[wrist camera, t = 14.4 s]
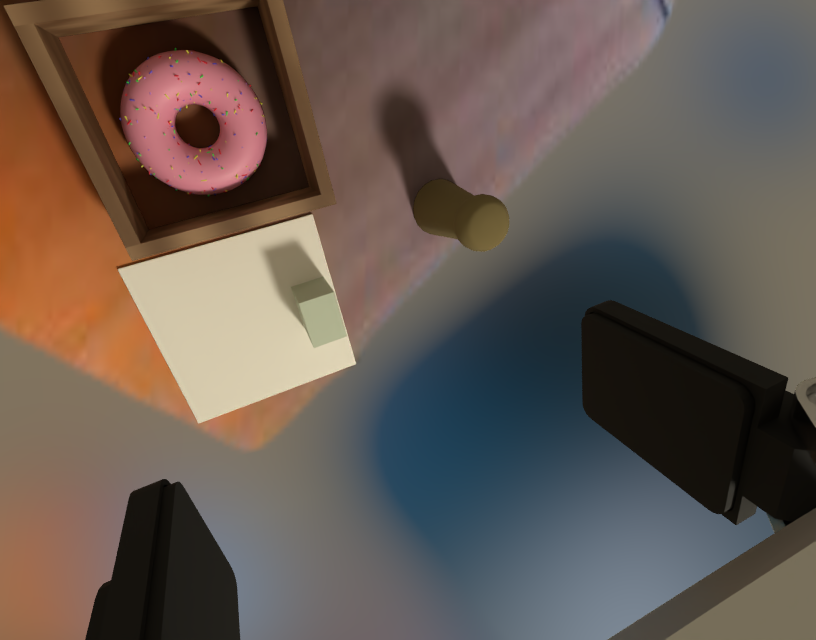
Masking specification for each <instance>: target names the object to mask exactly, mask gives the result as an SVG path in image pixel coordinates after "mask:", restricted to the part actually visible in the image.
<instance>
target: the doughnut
mask: <svg viewBox="0 0 816 640" xmlns="http://www.w3.org/2000/svg"><path fill="white" fill-rule="evenodd" d="M129 75H130V76H129V78H128V80H127V81H126V84H125V87H124V90H123V93H122V97H121V103H120V118H119V119H120V120H121V125H122V129H123V132H124V135H125V138H126V140H127V143H128V145H129V147H130V149H131V150H132V152H133V153H134V155H135V156H136V160H138V161H139V162H140V163H141V164H142V166H141V167H143V166H144V168H145V169H146V170H147V171H149V175H153V176H154V177H155V178H157V179H159V180H160V181H162V182H164V183H166V184H167V185H169V186H171V187H173V188H175V189H176V190H175V191H177V190H181V191H184V192H187V194H191V193H192V194H197V195H208V197H209V195H213V194H215V195H216V194H219V193H223V192H226V193H227V191H230V190H233V189H235V188H237V187H238V186H240V185H242V184H243V183H244V182H245V181H246V180H247V181H248V180H249V178H250V177H251V176H252V175H253V174H254V172H256V170H257V168H258V167H259V165H260V163H261V161H262V159H263V156H264V152H265V148H266V143H267V127H266V120H265V115H264V112H263V109H262V106H261V104H262V103H261V102H259V100H258V98H257V96H256V94H255V92H254V91H253V89H252V88H251V87H250V86H251V85H249V84H248V83H247V82H246V81H245V79H244V78H243V77H242V76H241V75H240V74H239V73H238V72H237V71H235V70H234V69H233V68H232V67H230V66H229V65H227V64H226V63H224V62H223V61H222V60H219V59H217V58H215V57H213V56H210V55H207V54H204V53H200V52H196V51H195V50H193V51H191V50H176V48H175V50H174V51H167V52H162V53H159V54H156V55H154V56H152V57H150V58H149V57H147V60H145V61H144V62H143V63H141V64H140V65H139V66H138V67H137V68H136V69H135V70H134V71H133V72H132V74H129ZM190 104H198V105H202V106H204V107H206V108H208V109H209V110H210V111H211V112H212V113H213V115H214V116H216V118H217V120H218V122H219V126H220V134H219V137H218V139H217V141H216V142H215V143H214V144H213V145H210V146H209V147H207V148H195V147H192V146H190V144H189V143H188V144H187V143H185V142H184V141H183V140H182V139H181V138H180V136H179V135H178V133H177V130H176V127H175V119H176V115H177V113H178V112H179V111H181V108H183V107H184V106H186V108H187V106H188V105H190ZM260 166H261V165H260Z"/></svg>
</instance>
